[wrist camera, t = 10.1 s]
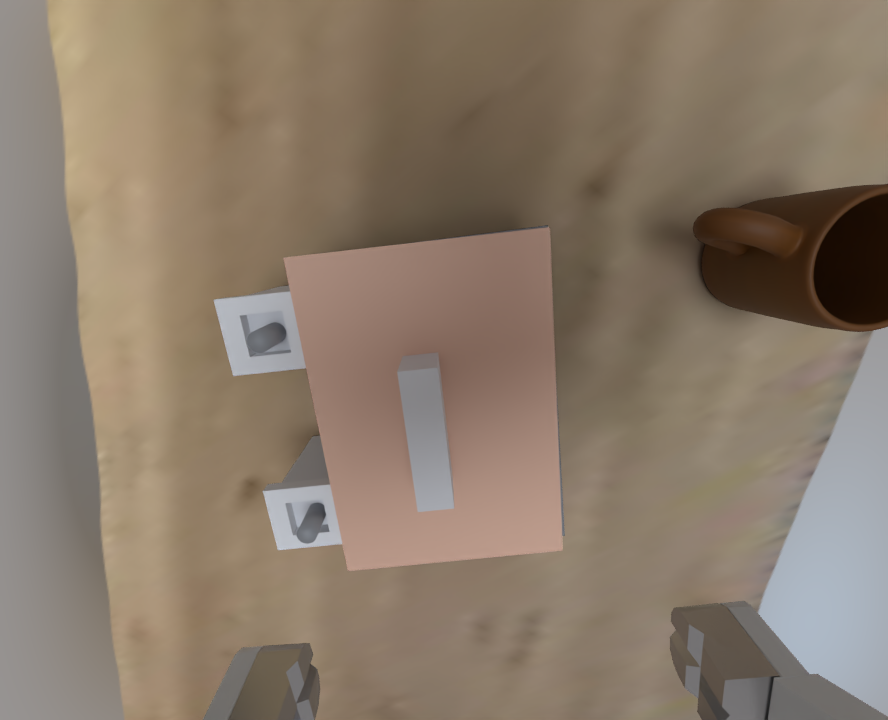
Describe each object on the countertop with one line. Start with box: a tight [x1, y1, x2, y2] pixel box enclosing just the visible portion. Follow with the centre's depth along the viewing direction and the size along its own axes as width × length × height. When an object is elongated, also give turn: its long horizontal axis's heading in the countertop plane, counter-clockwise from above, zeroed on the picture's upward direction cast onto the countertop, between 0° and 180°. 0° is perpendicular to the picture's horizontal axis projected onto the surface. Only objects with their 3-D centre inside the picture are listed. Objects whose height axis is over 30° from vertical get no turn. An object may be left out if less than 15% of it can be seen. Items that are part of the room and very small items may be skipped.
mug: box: [693, 184, 888, 332], centre depth 25 cm, size 12×8×9 cm, turn 75°
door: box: [214, 227, 563, 571], centre depth 24 cm, size 20×18×4 cm
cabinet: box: [247, 225, 565, 544], centre depth 28 cm, size 20×18×9 cm
